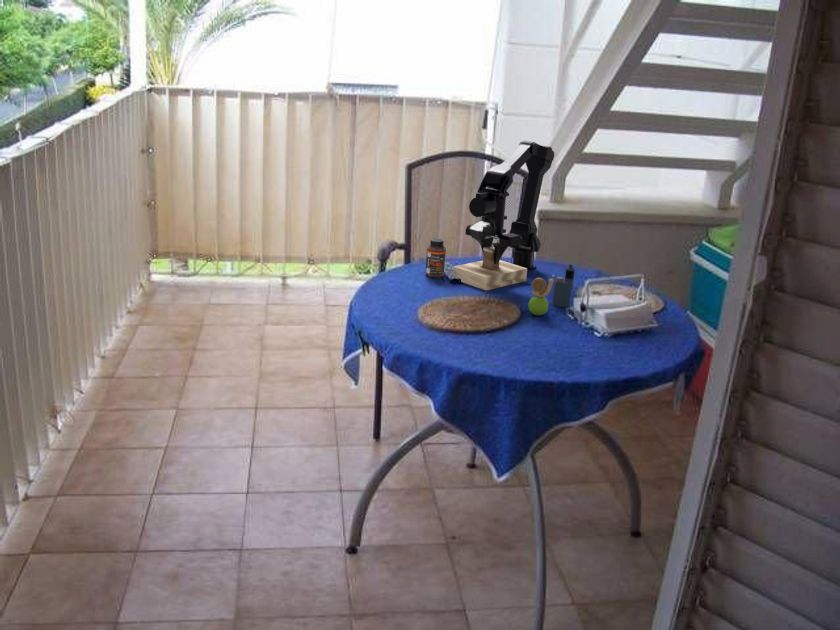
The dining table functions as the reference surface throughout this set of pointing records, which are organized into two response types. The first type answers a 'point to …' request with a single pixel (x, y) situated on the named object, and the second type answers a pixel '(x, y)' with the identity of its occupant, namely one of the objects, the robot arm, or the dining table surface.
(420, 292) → the dining table surface
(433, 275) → the supplement bottle
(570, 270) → the vaping device
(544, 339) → the dining table surface
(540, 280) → the snail figurine
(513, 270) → the socket board
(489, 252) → the peg
